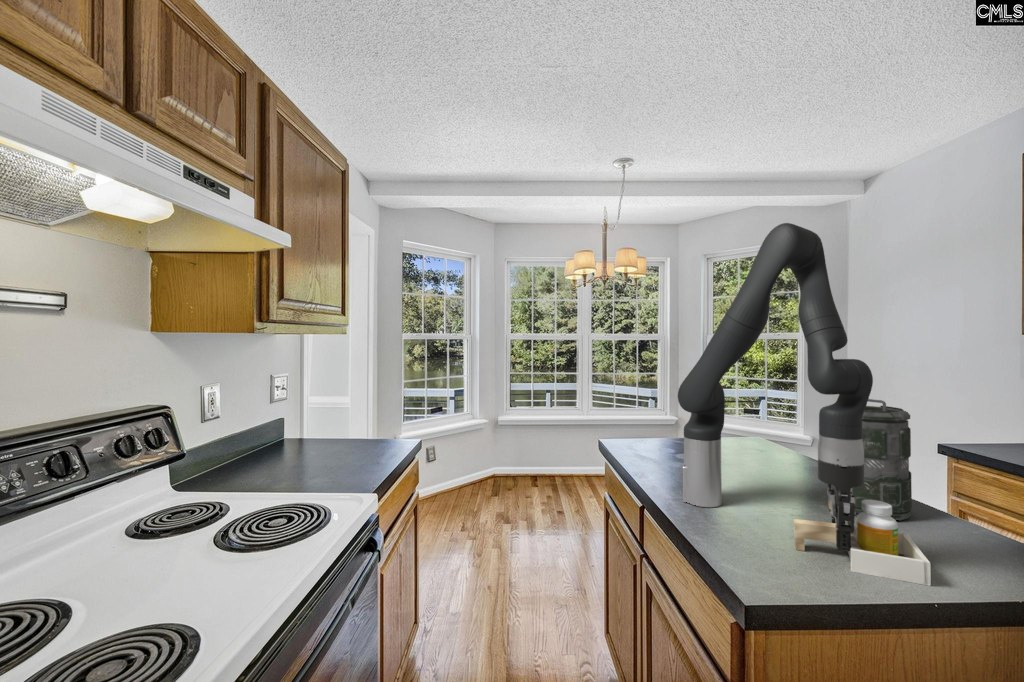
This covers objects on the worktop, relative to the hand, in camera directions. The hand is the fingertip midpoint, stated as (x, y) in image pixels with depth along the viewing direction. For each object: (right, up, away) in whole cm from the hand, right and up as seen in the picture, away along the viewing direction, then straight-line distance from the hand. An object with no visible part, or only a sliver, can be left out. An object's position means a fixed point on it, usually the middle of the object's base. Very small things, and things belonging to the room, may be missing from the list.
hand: (840, 543), depth 91 cm
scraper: (-2, -2, +1) cm, 4 cm away
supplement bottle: (+5, -3, -3) cm, 6 cm away
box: (+5, -2, -3) cm, 6 cm away
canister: (+24, -2, +24) cm, 34 cm away
